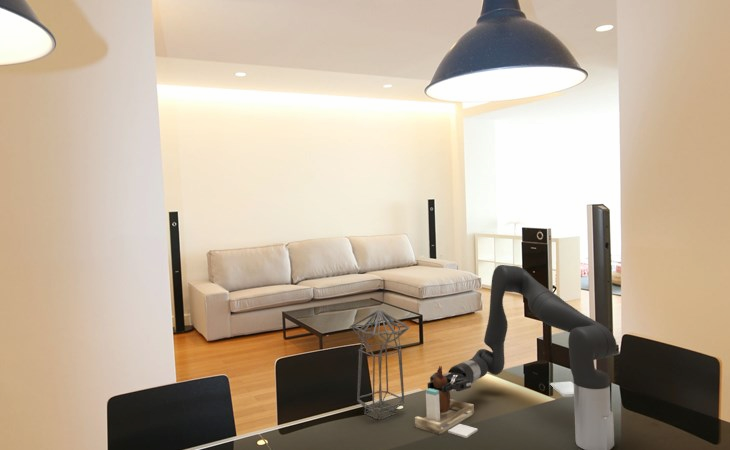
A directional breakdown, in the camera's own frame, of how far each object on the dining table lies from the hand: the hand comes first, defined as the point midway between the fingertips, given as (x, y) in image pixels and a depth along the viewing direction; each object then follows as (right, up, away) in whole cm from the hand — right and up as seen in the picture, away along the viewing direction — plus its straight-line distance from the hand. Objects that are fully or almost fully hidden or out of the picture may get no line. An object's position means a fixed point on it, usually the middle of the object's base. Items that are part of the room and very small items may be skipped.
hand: (435, 388), depth 162 cm
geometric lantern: (-16, -12, +11) cm, 23 cm away
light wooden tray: (+4, -11, +4) cm, 12 cm away
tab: (-1, -10, -1) cm, 10 cm away
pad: (+7, -11, -5) cm, 15 cm away
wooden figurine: (+2, -8, +2) cm, 9 cm away
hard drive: (+51, -9, +25) cm, 58 cm away
